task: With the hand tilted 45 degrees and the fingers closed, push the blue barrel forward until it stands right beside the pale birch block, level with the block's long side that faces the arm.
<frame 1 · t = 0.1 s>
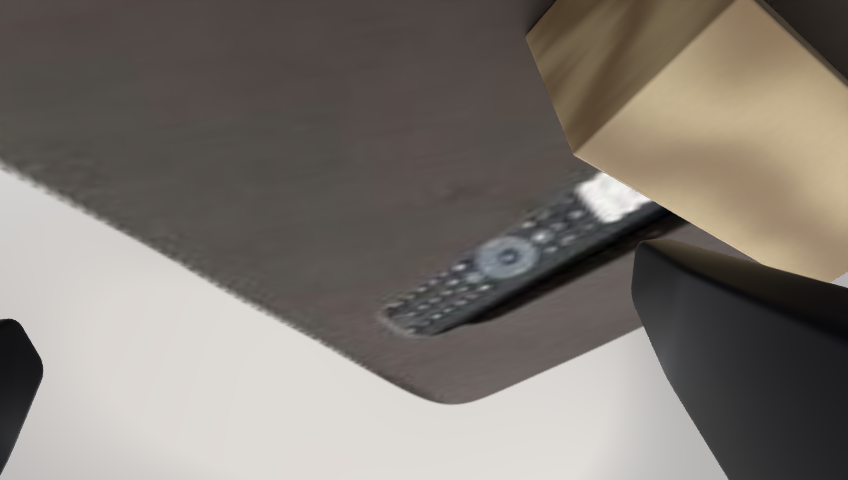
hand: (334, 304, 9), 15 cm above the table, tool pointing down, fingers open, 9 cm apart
birch block: (701, 64, 25), on the table
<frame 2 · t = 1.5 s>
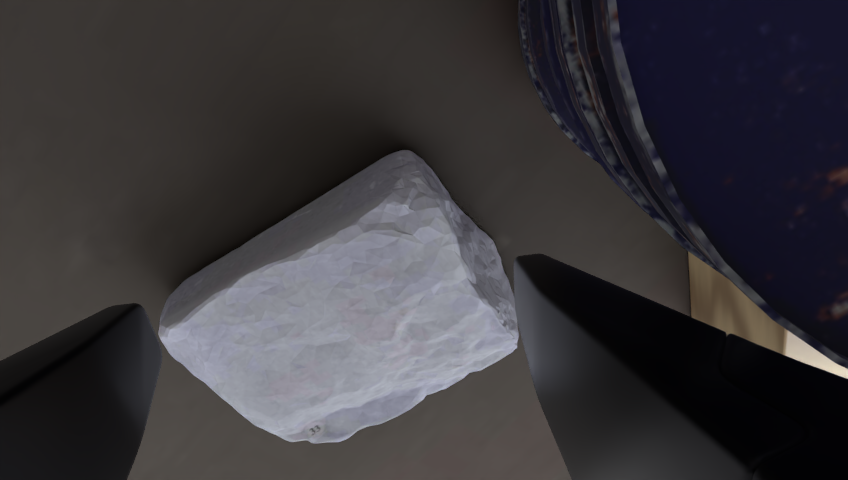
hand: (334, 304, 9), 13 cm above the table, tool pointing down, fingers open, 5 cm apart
blue barrel: (677, 8, 19), point 1 cm above the table
stone block: (357, 292, 26), on the table
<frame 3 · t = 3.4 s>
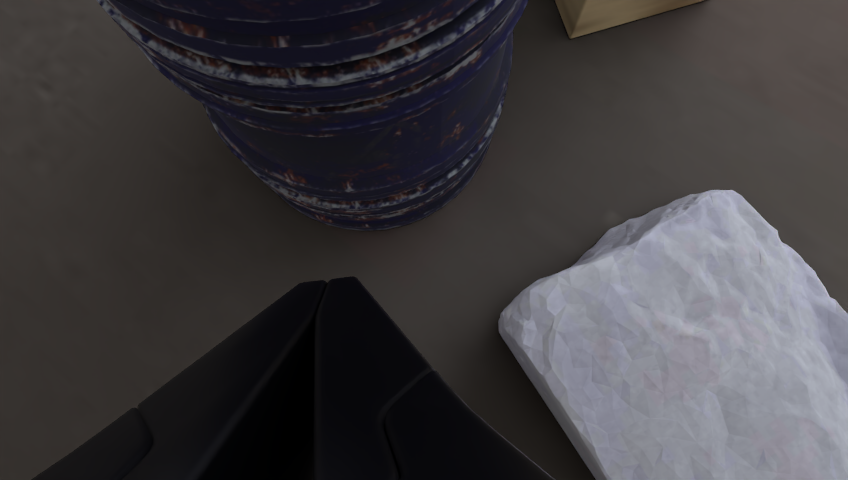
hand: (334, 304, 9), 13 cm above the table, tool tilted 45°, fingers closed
blue barrel: (370, 110, 24), on the table
stone block: (689, 381, 22), on the table
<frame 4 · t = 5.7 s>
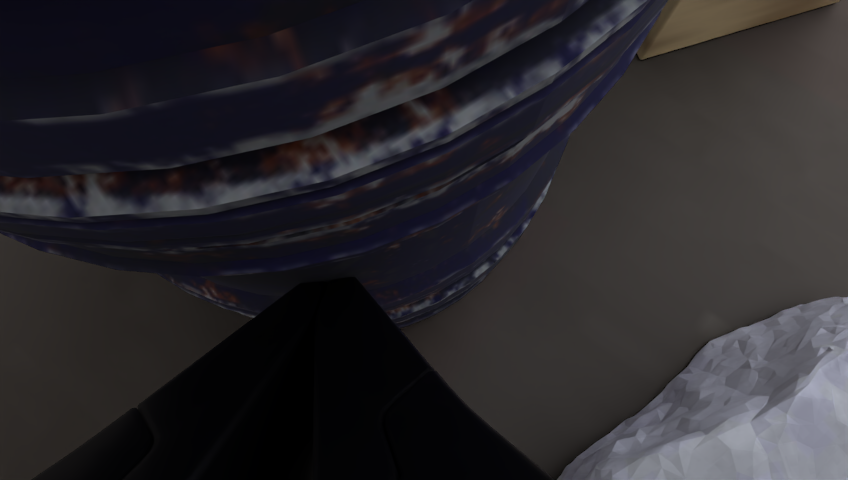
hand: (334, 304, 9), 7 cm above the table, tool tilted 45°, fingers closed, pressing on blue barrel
blue barrel: (355, 156, 17), on the table, touching gripper
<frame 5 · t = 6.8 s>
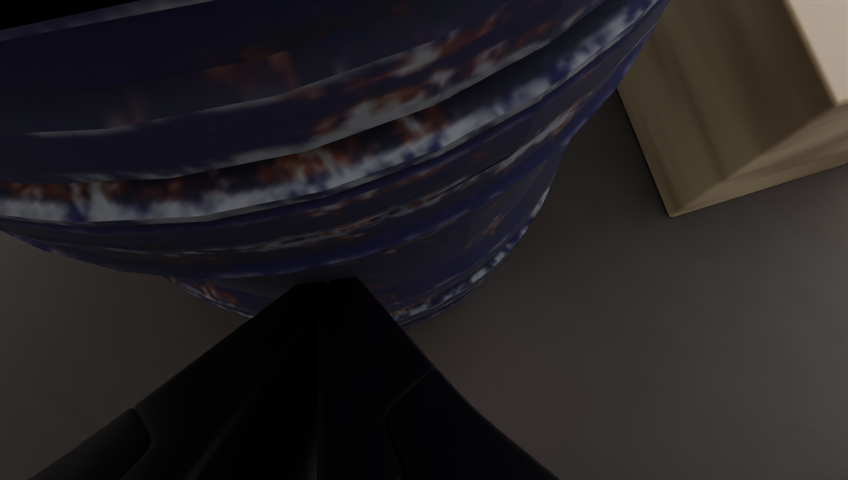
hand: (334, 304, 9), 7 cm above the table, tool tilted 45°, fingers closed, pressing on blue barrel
blue barrel: (356, 159, 17), on the table, touching gripper
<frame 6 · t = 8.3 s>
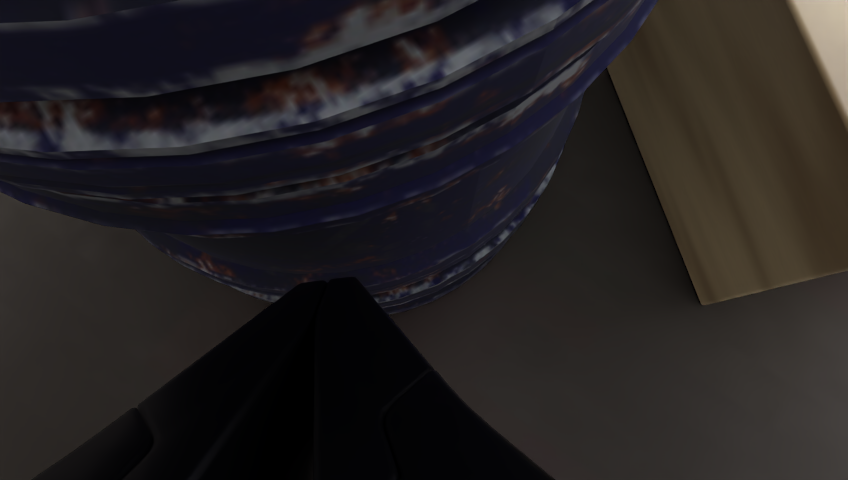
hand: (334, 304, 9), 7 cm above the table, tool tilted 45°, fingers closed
blue barrel: (359, 138, 17), on the table
birch block: (705, 29, 17), on the table
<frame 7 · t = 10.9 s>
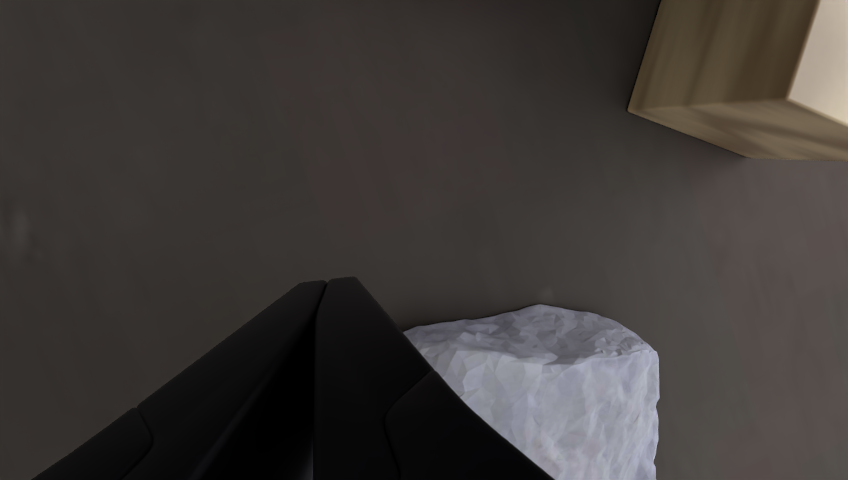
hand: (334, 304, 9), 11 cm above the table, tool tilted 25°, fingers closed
stone block: (509, 455, 24), on the table
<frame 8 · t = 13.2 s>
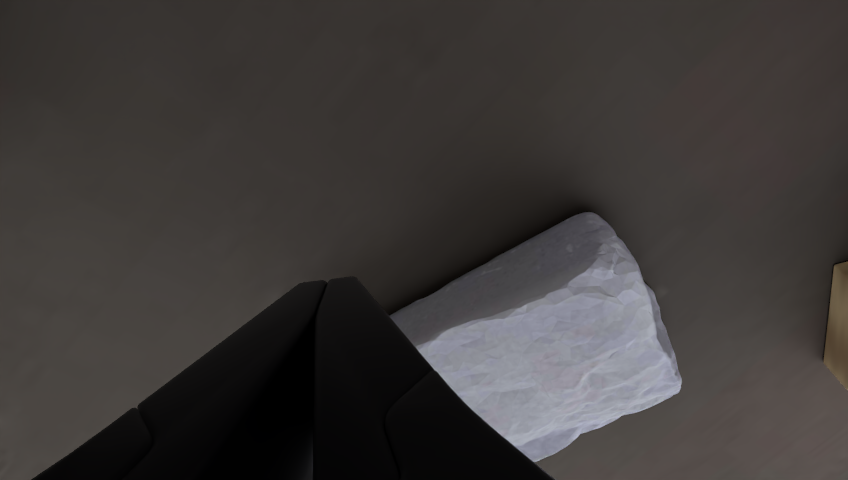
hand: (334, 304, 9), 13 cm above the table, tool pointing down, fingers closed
stone block: (518, 337, 28), on the table
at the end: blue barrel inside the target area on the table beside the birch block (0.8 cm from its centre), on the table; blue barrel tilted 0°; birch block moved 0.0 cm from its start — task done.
